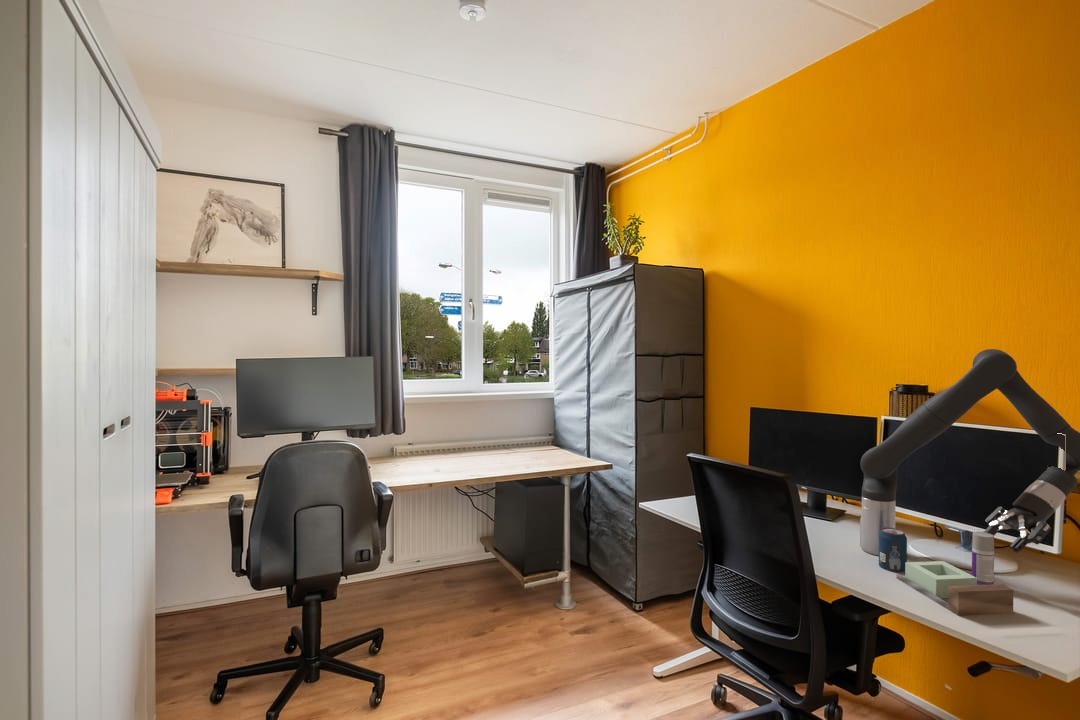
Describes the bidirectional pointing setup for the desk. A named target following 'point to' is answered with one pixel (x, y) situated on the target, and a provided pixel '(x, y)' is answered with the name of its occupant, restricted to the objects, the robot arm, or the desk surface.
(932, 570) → the socket block
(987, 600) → the walnut track
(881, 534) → the soda can
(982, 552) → the container
